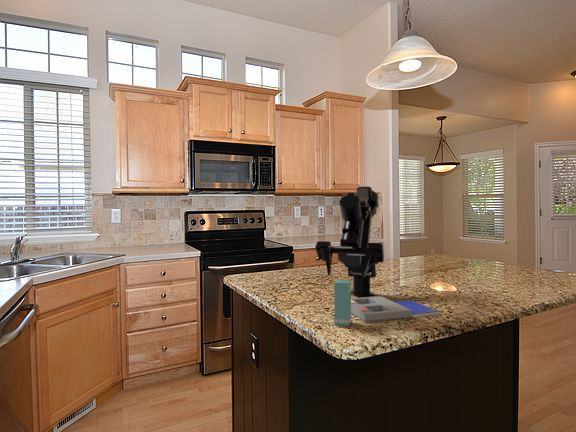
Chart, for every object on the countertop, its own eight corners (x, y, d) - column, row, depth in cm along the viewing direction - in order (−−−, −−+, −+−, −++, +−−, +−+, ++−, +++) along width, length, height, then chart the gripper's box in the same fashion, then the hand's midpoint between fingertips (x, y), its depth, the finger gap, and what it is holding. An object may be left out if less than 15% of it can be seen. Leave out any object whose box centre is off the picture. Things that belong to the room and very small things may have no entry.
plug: (337, 320, 97) (337, 279, 97) (351, 322, 96) (351, 280, 95) (334, 325, 93) (334, 282, 93) (348, 326, 92) (348, 283, 92)
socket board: (340, 305, 111) (340, 298, 111) (381, 302, 115) (381, 295, 115) (364, 321, 96) (364, 313, 96) (411, 317, 99) (411, 309, 99)
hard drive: (439, 310, 102) (411, 299, 114) (414, 313, 100) (389, 302, 112) (439, 316, 102) (411, 304, 114) (414, 319, 100) (389, 307, 112)
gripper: (386, 250, 110) (382, 295, 100) (326, 248, 116) (317, 290, 106) (384, 225, 103) (380, 271, 92) (320, 224, 109) (309, 267, 99)
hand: (345, 275), depth 98 cm, fingers open, 9 cm apart
